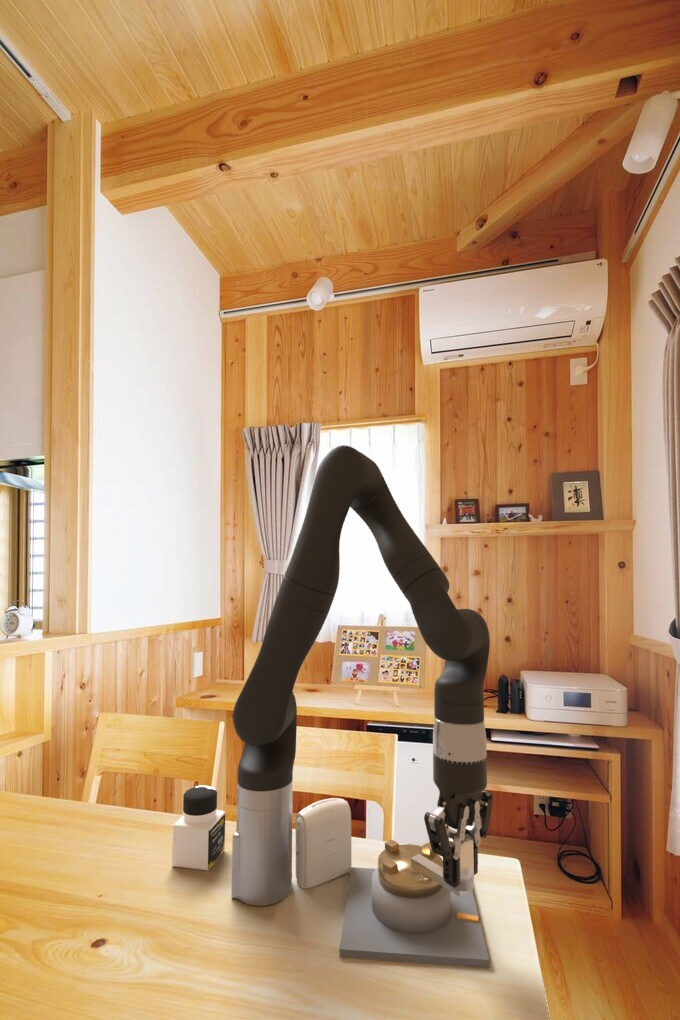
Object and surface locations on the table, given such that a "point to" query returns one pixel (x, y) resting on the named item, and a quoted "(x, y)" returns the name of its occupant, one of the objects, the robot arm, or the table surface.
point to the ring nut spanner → (422, 869)
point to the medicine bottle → (199, 830)
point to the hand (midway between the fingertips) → (461, 877)
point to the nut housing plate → (409, 946)
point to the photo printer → (323, 842)
